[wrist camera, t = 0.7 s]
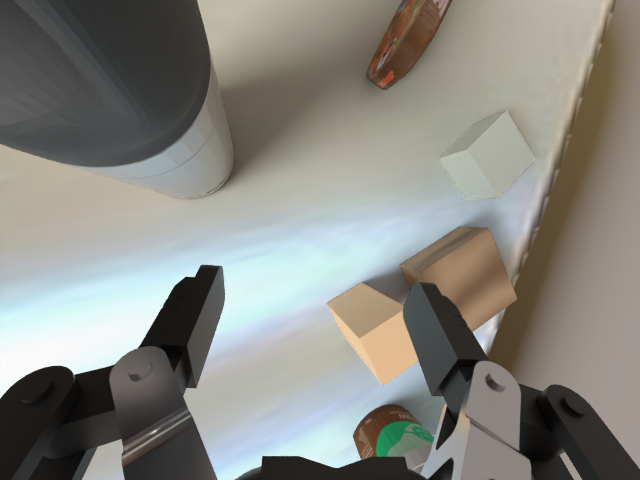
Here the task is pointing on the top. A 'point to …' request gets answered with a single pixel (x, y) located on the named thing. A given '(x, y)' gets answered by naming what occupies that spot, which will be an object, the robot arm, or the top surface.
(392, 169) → the top surface
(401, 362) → the ochre pillar
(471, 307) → the walnut block
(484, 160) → the grey block
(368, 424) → the food container
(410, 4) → the tin
